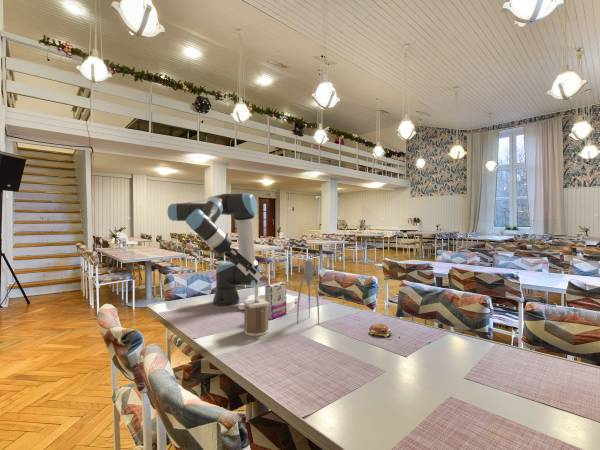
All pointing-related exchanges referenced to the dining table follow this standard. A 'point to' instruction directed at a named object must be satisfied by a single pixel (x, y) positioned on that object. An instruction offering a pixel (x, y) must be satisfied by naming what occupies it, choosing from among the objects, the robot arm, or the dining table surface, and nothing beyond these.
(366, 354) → the dining table surface
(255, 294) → the dark knobbed rod
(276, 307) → the candy bar box
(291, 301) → the white circle with bar
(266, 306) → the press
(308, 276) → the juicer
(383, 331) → the hamburger
